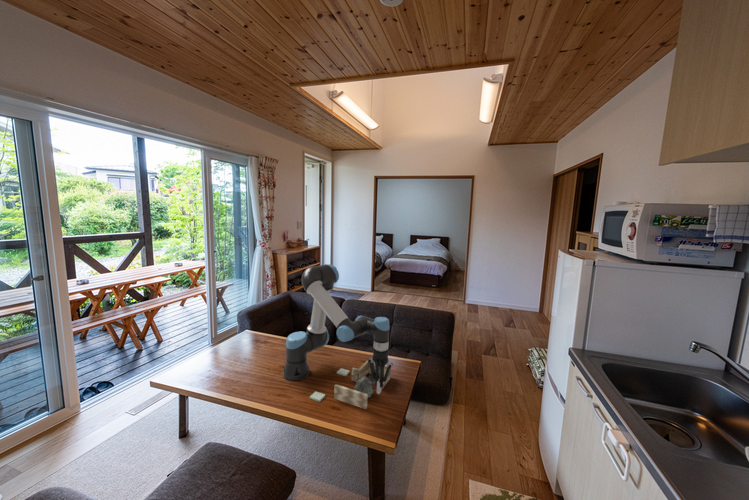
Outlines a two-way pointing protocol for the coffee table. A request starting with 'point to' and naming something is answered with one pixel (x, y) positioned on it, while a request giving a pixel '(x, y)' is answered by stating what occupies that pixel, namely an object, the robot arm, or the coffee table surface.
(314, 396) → the pad
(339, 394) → the wooden wall enclosure
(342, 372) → the pad
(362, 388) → the stone
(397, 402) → the coffee table surface
